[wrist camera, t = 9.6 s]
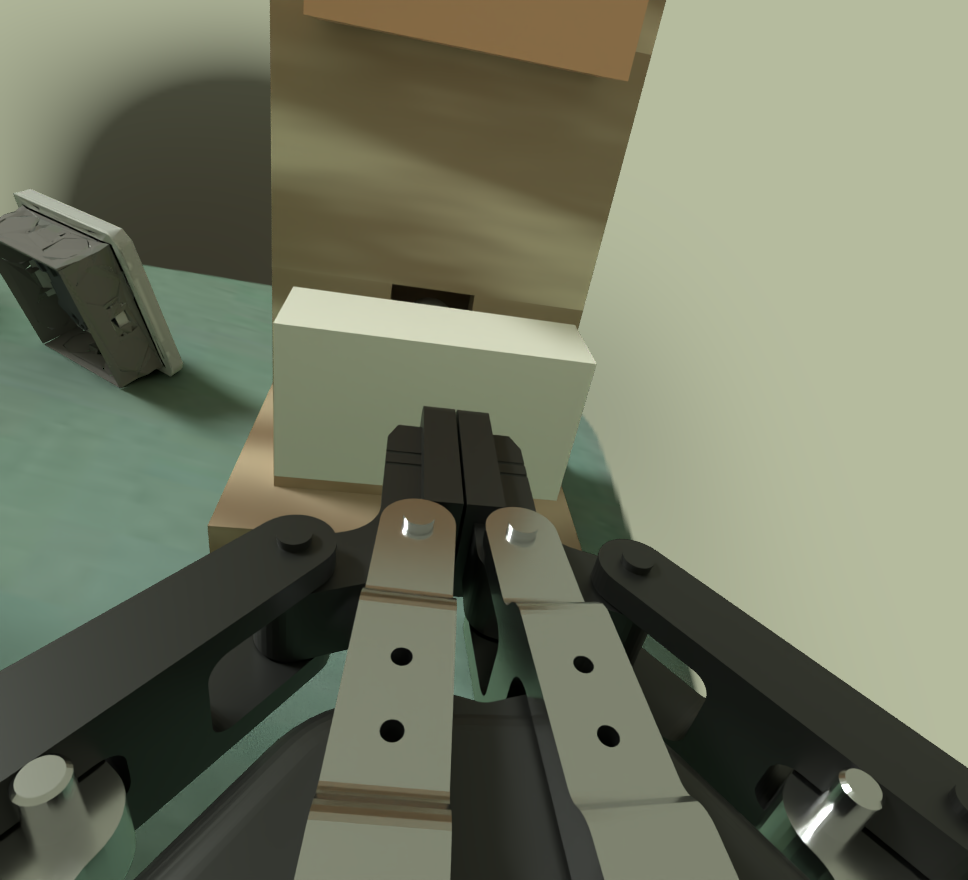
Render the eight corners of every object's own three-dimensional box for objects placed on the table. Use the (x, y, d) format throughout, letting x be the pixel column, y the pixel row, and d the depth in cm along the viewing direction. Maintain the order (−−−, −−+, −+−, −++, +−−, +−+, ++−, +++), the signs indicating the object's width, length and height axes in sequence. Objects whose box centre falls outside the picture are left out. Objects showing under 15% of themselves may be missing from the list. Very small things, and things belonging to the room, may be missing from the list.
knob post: (273, 403, 37) (268, -288, 22) (532, 431, 39) (683, -172, 25) (209, 553, 26) (115, -626, 11) (574, 577, 28) (891, -352, 14)
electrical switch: (188, 376, 38) (159, 224, 32) (107, 410, 34) (59, 246, 29) (95, 326, 41) (55, 182, 36) (12, 353, 38) (-46, 196, 32)
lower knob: (314, 363, 26) (317, 242, 23) (522, 387, 27) (548, 277, 24) (274, 475, 19) (273, 323, 16) (556, 500, 20) (596, 364, 18)
